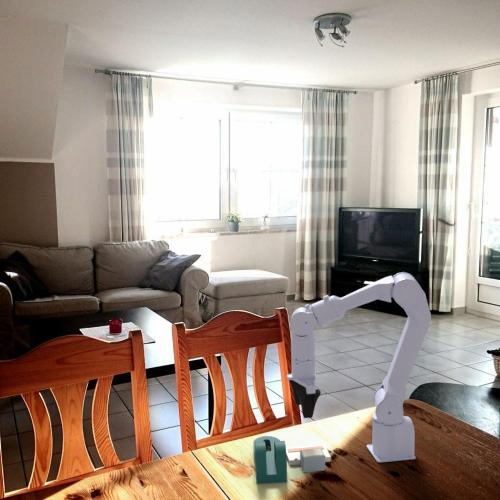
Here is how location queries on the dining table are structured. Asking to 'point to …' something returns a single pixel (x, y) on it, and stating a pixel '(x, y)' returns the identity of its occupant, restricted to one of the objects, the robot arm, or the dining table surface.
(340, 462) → the dining table surface
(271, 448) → the bracket
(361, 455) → the dining table surface
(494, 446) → the dining table surface
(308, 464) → the stub
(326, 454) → the spiral notebook
